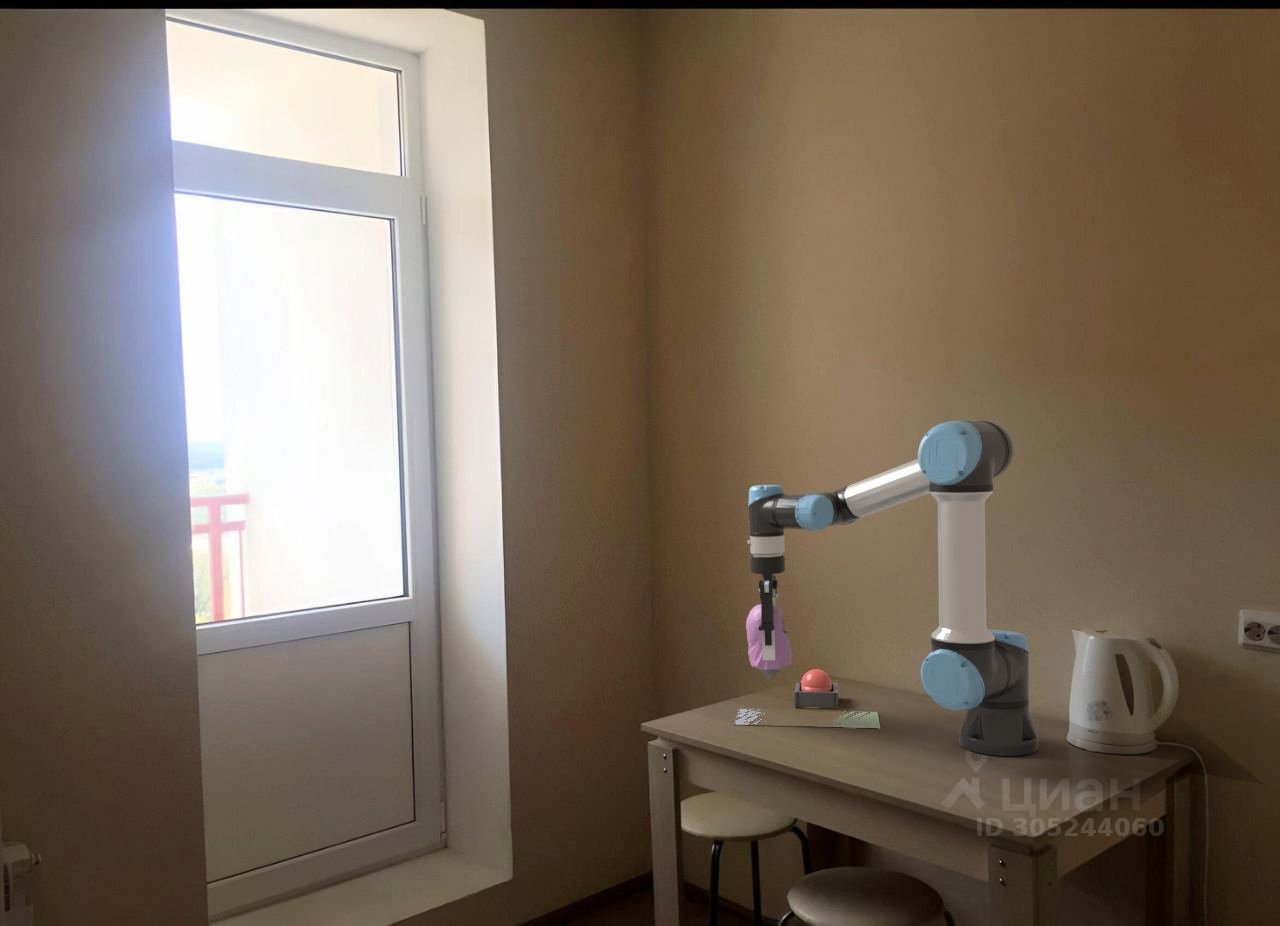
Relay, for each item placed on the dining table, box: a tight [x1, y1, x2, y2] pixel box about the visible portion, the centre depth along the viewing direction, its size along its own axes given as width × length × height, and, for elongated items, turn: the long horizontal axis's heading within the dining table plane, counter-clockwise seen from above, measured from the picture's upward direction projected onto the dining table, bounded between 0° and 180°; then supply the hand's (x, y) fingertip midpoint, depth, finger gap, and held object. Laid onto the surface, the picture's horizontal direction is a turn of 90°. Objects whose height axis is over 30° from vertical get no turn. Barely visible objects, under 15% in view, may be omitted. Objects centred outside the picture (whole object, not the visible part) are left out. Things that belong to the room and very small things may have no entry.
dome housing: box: [794, 681, 839, 709], centre depth 246 cm, size 10×10×4 cm
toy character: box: [745, 588, 794, 680], centre depth 234 cm, size 12×10×20 cm
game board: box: [733, 708, 881, 730], centre depth 233 cm, size 13×31×1 cm, turn 80°
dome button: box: [800, 668, 833, 692], centre depth 246 cm, size 7×7×7 cm
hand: (770, 654), depth 234 cm, fingers closed on toy character, 10 cm apart
